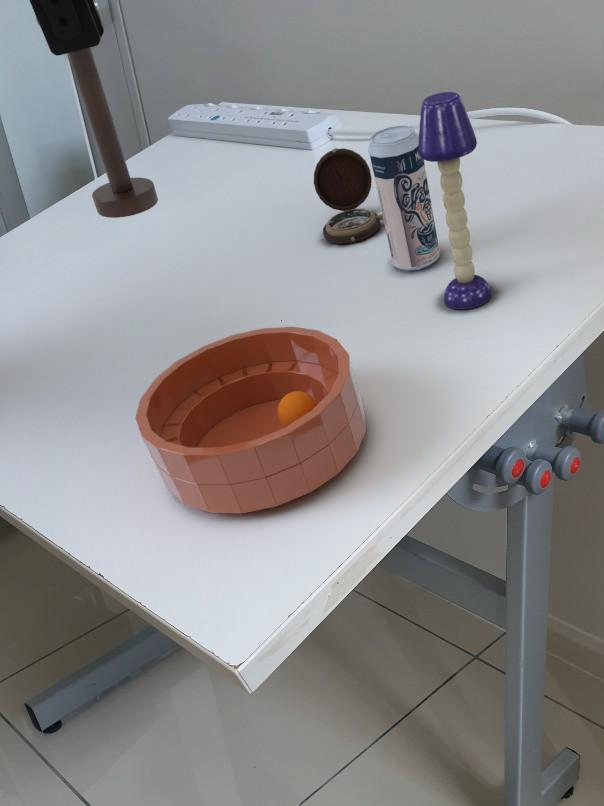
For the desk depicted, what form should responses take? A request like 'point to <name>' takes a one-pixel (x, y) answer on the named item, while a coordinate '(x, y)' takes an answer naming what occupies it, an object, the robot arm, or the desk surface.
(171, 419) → the bowl
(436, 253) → the beer can
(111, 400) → the desk surface
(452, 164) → the toy lamp
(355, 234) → the compass
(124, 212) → the stick
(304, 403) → the ball
